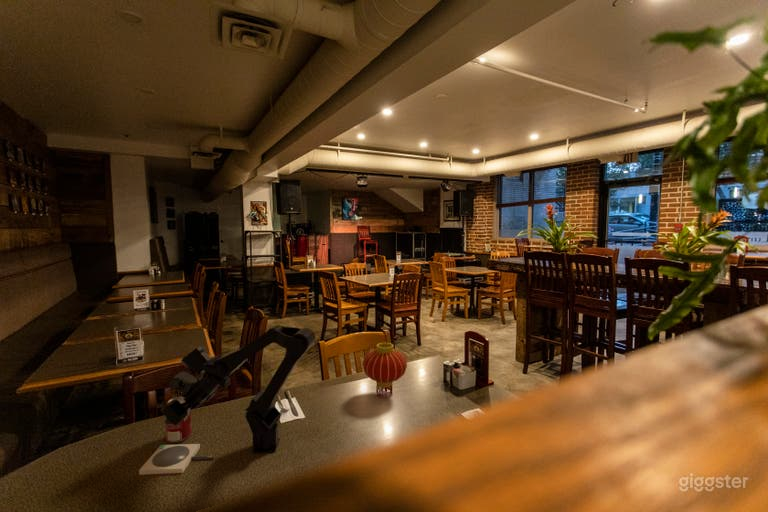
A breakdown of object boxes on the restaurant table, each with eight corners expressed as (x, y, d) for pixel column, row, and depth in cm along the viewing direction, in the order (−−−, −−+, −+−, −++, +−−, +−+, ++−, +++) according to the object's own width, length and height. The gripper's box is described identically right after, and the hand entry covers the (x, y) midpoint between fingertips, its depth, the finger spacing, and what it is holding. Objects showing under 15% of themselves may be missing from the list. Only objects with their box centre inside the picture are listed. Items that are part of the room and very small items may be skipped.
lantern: (407, 406, 134) (409, 326, 132) (360, 405, 134) (361, 326, 132) (405, 385, 151) (406, 315, 148) (363, 385, 151) (364, 314, 149)
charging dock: (220, 446, 108) (220, 442, 108) (205, 471, 97) (205, 466, 97) (161, 448, 107) (161, 444, 107) (139, 474, 96) (139, 469, 96)
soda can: (180, 445, 109) (178, 407, 108) (161, 442, 110) (159, 404, 109) (196, 433, 115) (195, 396, 114) (177, 430, 117) (176, 394, 115)
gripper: (207, 354, 119) (177, 384, 122) (166, 378, 101) (132, 413, 103) (230, 379, 119) (199, 409, 121) (193, 407, 100) (158, 442, 103)
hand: (174, 416), depth 112 cm, fingers closed on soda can, 7 cm apart
